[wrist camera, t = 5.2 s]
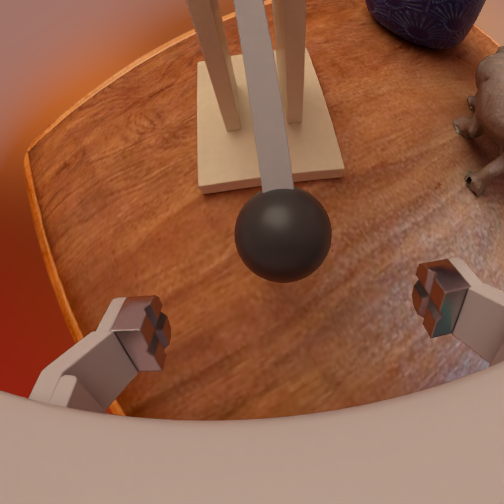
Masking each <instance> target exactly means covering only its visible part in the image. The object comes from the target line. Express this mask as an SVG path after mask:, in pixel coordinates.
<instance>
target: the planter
mask: <svg viewBox="0 0 504 504" xmlns="http://www.w3.org/2000/svg"><path fill="white" fill-rule="evenodd" d="M485 1H486V0H366V5H367V7H368V10H369V11H370V13H371V15H372V16H373V17H374V18H375V19H376V20H377V21H378V22H379V23H380V24H381V25H382V26H384V27H385V28H386V29H388V30H389V31H391V32H392V33H394V34H396V35H398V36H399V37H401V38H403V39H406V40H408V41H410V42H412V43H415V44H418V45H421V46H425V47H429V48H434V49H449V48H453V47H455V46H457V45H458V44H460V43H461V42H462V41H463V40H464V38H465V37H466V36H467V34H468V33H469V31H470V30H471V28H472V26H473V24H474V23H475V21H476V19H477V17H478V15H479V13H480V11H481V9H482V7H483V5H484V3H485Z"/></svg>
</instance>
